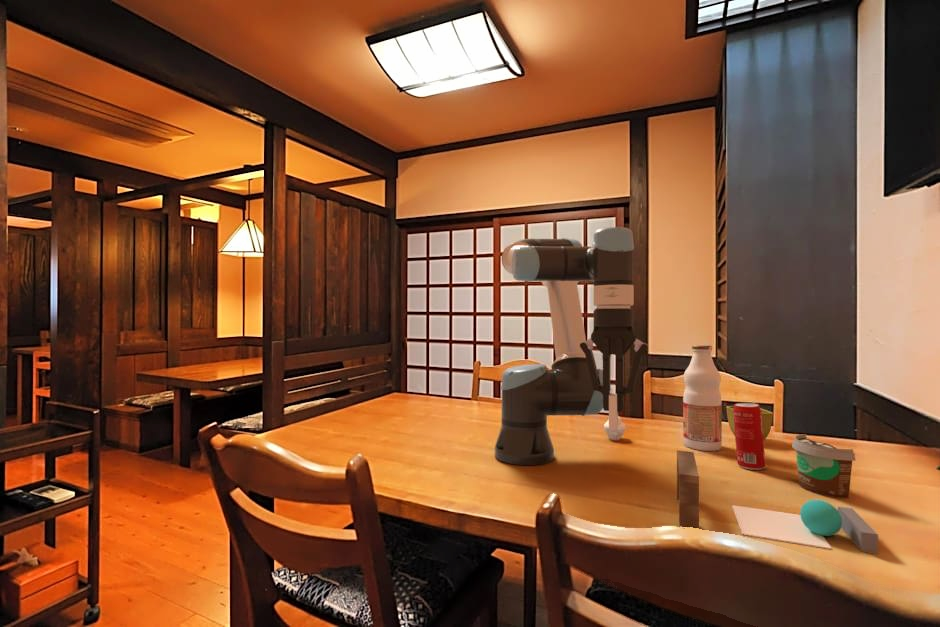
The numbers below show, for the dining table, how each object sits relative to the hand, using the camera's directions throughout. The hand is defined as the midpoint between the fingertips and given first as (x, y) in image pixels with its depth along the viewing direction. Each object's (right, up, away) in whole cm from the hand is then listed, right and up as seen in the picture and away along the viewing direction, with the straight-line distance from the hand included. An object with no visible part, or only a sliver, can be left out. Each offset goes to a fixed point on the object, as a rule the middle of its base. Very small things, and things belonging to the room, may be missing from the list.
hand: (613, 427), depth 89 cm
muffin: (+14, -15, +44) cm, 48 cm away
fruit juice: (+36, -15, +36) cm, 53 cm away
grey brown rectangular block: (+12, -14, -5) cm, 19 cm away
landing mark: (+25, -14, -11) cm, 31 cm away
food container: (+44, -15, +5) cm, 46 cm away
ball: (+30, -12, -14) cm, 35 cm away
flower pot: (+52, -15, +42) cm, 69 cm away
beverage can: (+39, -15, +19) cm, 46 cm away
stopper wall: (+35, -14, -15) cm, 41 cm away
